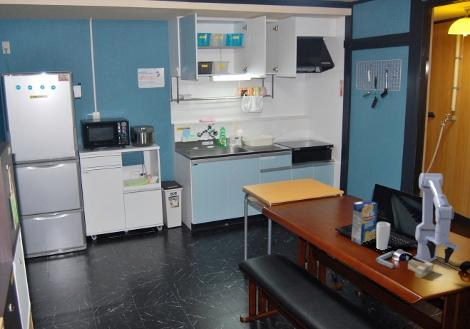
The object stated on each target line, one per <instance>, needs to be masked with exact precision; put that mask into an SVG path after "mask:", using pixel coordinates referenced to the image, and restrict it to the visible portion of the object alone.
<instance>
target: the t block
mask: <svg viewBox="0 0 470 329" xmlns="http://www.w3.org/2000/svg"><path fill="white" fill-rule="evenodd" d="M407 269H408V270H410V271H413V272H415V274H414V276H416V277H418V278H421V279H422V278H424V277H425V276H429V274H431V273H433V272H434V263H432V262H424V263H423V262H420V261H419V260H414V259H409V260H408V262H407Z"/></svg>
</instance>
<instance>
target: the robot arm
mask: <svg viewBox="0 0 470 329" xmlns="http://www.w3.org/2000/svg"><path fill="white" fill-rule="evenodd" d="M443 184H444V176H443V174H442V173H435V172H434V173H432V172H431V173H429V172H428V173H427V172H421V173H420V174H419V177H418V187H419V190H421V191H422V217H421V218H422V219H421V221H422V222H421V223H419V224H417V225H416V228H415V233H414V236H415V240H416V241H417V244H418V245H417V251H416V252H417V253H416V255H414V256H413V258H414V259H416V260H417V261H421V262H422V263H423V262H424V263H426V262H430V263H432V262H433V261H435V260H436V259H438V256H437V249H438V246H442V247H445V248H444V260H443V262H444V264H448V263H449V261H450V258H451V257H452V255H453V254H454V252H457V251H458V250H459V246H458V245H457V244H455V243H452V242H451V241H449V238H450V231H451V230H450V229H451V220H453V219H454V216H455V210H454V207H453V206H452V205H451V204H449V201H448V199H447V196H446V194H443V190H442V186H443ZM434 207H435V211H434ZM434 213H435V223H436V224H434V223H433V222H434V221H433V220H434V219H433V218H434ZM413 258H412V259H413Z"/></svg>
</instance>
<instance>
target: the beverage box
mask: <svg viewBox="0 0 470 329" xmlns="http://www.w3.org/2000/svg"><path fill="white" fill-rule="evenodd" d="M352 207H353V209H352V224H351V225H352V226H351V227H352V228H351V242H353V243H355V244H357V245H359V246H363V245H364V244H363V242H366V241H370V240H372V239H375V240H376V227H377V216H378V214H377V213H378V202H375V201H372V200H370V199H366V200H362V201H357V202H353V206H352ZM362 244H363V245H362Z"/></svg>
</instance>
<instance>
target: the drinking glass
mask: <svg viewBox="0 0 470 329" xmlns="http://www.w3.org/2000/svg"><path fill="white" fill-rule="evenodd" d="M390 234H391V223H389V222H386V221H378V222H376V231H375V241H376V248H377V249H380V250H385V249H387V250H388V246H389V245H388V244H389V239H390ZM376 248H375V249H376Z"/></svg>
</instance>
